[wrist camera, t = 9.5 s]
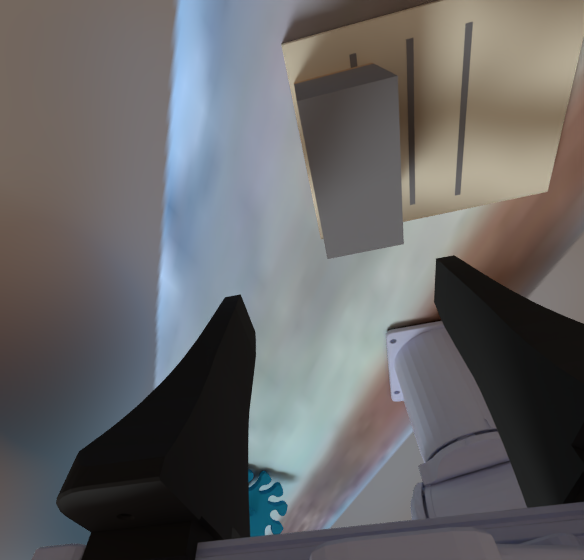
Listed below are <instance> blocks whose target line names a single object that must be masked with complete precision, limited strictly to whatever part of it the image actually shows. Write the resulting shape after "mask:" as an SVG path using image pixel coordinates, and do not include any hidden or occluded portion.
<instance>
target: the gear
mask: <svg viewBox="0 0 584 560" xmlns="http://www.w3.org/2000/svg"><path fill="white" fill-rule="evenodd" d="M253 476H254V475H253V472H252V471H251V470H248V483H249V482H250V481H251V480H252V479H253ZM270 482H271V477H270V476H269V474H268V473H267V472H266V471H262V472H261V473H260V475H259V478H258V480H257V481H256V482H255V484H253V485H252V486H251V487H249V516H250V537H256V536H265V528H266V526H268V525H271V531H272V533H273V534H274V535H275V534H280V533H281V532H282V530H283V527H282V525H281V523H280V522H279V521H275V520H273V519H272V518H271V517H270V512H271V511H272V510H277V511H278V513H279V514H280V515H281V516H284V515H285V514H286V511H287V506H288V505H287V504H286V502H285V501H279V502H270V501H268V498H269V496H271V495H274V496H276V497H280V496H282V495H283V489H282V486H281V484H280V483H279V482H276V483H274V484H273V486H272V487H270V488H269V489H267V490H263V491H259V488H260V487H261V486H262V485H267V484H269V483H270Z"/></svg>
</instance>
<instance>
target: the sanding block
mask: <svg viewBox="0 0 584 560" xmlns="http://www.w3.org/2000/svg"><path fill="white" fill-rule="evenodd" d="M294 87H295V94H296V100H297V105H298V110H299V116H300V121H301V126H302V131H303V136H304V141H305V146H306V151H307V156H308V161H309V167H310V172H311V177H312V182H313V187H314V192H315V197H316V202H317V207H318V212H319V217H320V223H321V228H322V233H323V238H324V243H325V248H326V253H327V258H328V259H330V258H335V257H340V256H345V255H350V254H355V253H360V252H365V251H370V250H375V249H381V248H386V247H391V246H396V245H401V244H404V241H403V212H402V183H401V154H400V125H399V96H398V76H397V75H395V74H393V73H392V72H390V71H388V70H386V69H384V68H382V67H380V66H378V65H376V64H374V63H368V64H364V65H361V66H357V67H353V68H349V69H345V70H341V71H338V72H334V73H330V74H326V75H322V76H318V77H315V78H311V79H307V80H303V81H299V82H295V83H294Z"/></svg>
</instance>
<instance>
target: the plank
mask: <svg viewBox="0 0 584 560" xmlns="http://www.w3.org/2000/svg"><path fill="white" fill-rule="evenodd" d="M583 37H584V0H438V1H434V2H430V3H427V4H423V5H420V6H416V7H412V8H409V9H405V10H402V11H398V12H394V13H391V14H387V15H384V16H380V17H376V18H373V19H369V20H365V21H362V22H358V23H355V24H351V25H347V26H344V27H340V28H337V29H333V30H329V31H326V32H322V33H319V34H315V35H311V36H308V37H304V38H301V39H297V40H293V41H290V42H286V43H282V50H283V55H284V60H285V65H286V70H287V74H288V79H289V84H290V89H291V94H292V99H293V104H294V109H295V114H296V119H297V124H298V129H299V133H300V138H301V143H302V148H303V153H304V158H305V163H306V168H307V173H308V178H309V183H310V188H311V192H312V197H313V202H314V207H315V212H316V217H317V222H318V227H319V232H320V237H321V239H324V238H323V233H322V228H321V223H320V217H319V212H318V207H317V202H316V197H315V192H314V187H313V182H312V177H311V172H310V167H309V161H308V156H307V151H306V146H305V141H304V136H303V131H302V126H301V121H300V116H299V110H298V105H297V100H296V94H295V87H294V83H295V82H299V81H303V80H307V79H311V78H315V77H318V76H322V75H326V74H330V73H334V72H338V71H341V70H345V69H349V68H353V67H357V66H361V65H364V64H368V63H374V64H376V65H378V66H380V67H382V68H384V69H386V70H388V71H390V72H392V73H393V74H395V75H397V76H398V96H399V125H400V154H401V183H402V212H403V222H405V221H410V220H414V219H419V218H424V217H429V216H434V215H438V214H443V213H448V212H453V211H457V210H462V209H467V208H472V207H477V206H481V205H486V204H491V203H496V202H500V201H505V200H510V199H515V198H520V197H524V196H529V195H534V194H539V193H544V192H547V191H548V187H549V183H550V178H551V174H552V170H553V166H554V161H555V157H556V153H557V148H558V144H559V140H560V136H561V131H562V127H563V123H564V118H565V114H566V110H567V106H568V101H569V97H570V93H571V89H572V84H573V80H574V76H575V71H576V67H577V63H578V59H579V54H580V50H581V46H582V42H583Z"/></svg>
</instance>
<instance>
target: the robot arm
mask: <svg viewBox="0 0 584 560" xmlns="http://www.w3.org/2000/svg"><path fill="white" fill-rule="evenodd" d="M434 303H435V305H436V308H437V310H438V313H439V315H440V318H441V320H442V321H438V322H432V323H426V324H421V325H415V326H409V327H404V328H398V329H392V330H389V331H387V333H386V345H387V356H388V367H389V378H390V390H391V398H392V400H393V401H404V403H405V406H406V409H407V412H408V415H409V419H410V422H411V425H412V428H413V431H414V434H415V437H416V440H417V443H418V447H419V450H420V453H421V456H422V458H423V461H424V463H423V464H420V465H419V466H418V467H419V471H420V474H421V477H422V481H423V482H421V483H417V484H416V485H415V487H414V490H413V496H412V500H411V514H412V520H407V521H398V522H388V523H380V524H370V525H361V526H351V527H341V528H332V529H322V530H313V531H303V532H294V533H284V534H275V535H265V536H256V537H250V516H249V483H248V427H249V409H250V401H251V393H252V385H253V376H254V368H255V358H256V336H255V330H254V327H253V325H252V322H251V320H250V317H249V315H248V312H247V310H246V307H245V305H244V302H243V299H242V297H241V295H235V296H230V297H225V298H224V300H223V301H222V303H221V304H220V306H219V307H218V309H217V310H216V312H215V314H214V315H213V317H212V318H211V320H210V321H209V323H208V324H207V326H206V327H205V329H204V330H203V332H202V333H201V335H200V336H199V338H198V339H197V341H196V342H195V343H194V345H193V346H192V347H191V349H190V350H189V351H188V353H187V354H186V355H185V357H184V358H183V359H182V360H181V361H180V363H179V364H178V365H177V366H176V367H175V369H174V370H173V371H172V372H171V373H170V374H169V375H168V376H167V377H166V378H165V380H164V381H163V382H162V383H161V384H160V385H159V386H158V387H157V388H156V389H155V390H154V391H152V392H151V393H150V395H148V397H146V398H145V399H144V400H143V401H142V402H141V403H140V404H139V405H138V406H137V407H136V408H135V409H133V410H132V411H131V412H130V413H129V414H127V415H126V416H125V417H124V418H123V419H121V420H120V421H119V422H118V423H117V424H115V425H114V426H113V427H112V428H110V429H109V430H108V431H106V432H105V433H104V434H102V435H101V436H100V437H98V438H97V439H96V440H94V441H93V442H92V443H90V444H89V445H87V446H86V447H85V448H83V449H82V450H80V451H79V453H78V455H77V456H76V459H75V461H74V463H73V465H72V467H71V469H70V471H69V474H68V476H67V478H66V480H65V482H64V484H63V486H62V489H61V491H60V493H59V495H58V497H57V501H56V504H57V506H58V508H59V510H60V512H62V513H63V514H64V515H65V516H67V517H68V518H69V519H71V520H73V521H74V522H76V523H77V524H79V525H81V526H82V527H84V528H85V529H87V530H88V531H90V532H91V535H90V537H89V541H88V543H87V546H86V545H82V544H65V545H56V546H46V547H40V548H38V549H37V550H36V551H35V553H34V556H33V557H32V560H584V324H583V323H580V322H577V321H575V320H573V319H570V318H568V317H565V316H563V315H561V314H558V313H556V312H554V311H552V310H549V309H547V308H545V307H543V306H541V305H539V304H536V303H534V302H532V301H530V300H529V299H527V298H525V297H523V296H521V295H519V294H517V293H515V292H513V291H512V290H510V289H508V288H506V287H504V286H503V285H501V284H499V283H498V282H496V281H494V280H493V279H491V278H489V277H488V276H486V275H484V274H483V273H481V272H480V271H478V270H476V269H475V268H473V267H472V266H470V265H469V264H467V263H465V262H464V261H462V260H461V259H459V258H457V257H456V256H448V257H443V258H437V259H436V274H435V296H434ZM392 339H394V340H392Z"/></svg>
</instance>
